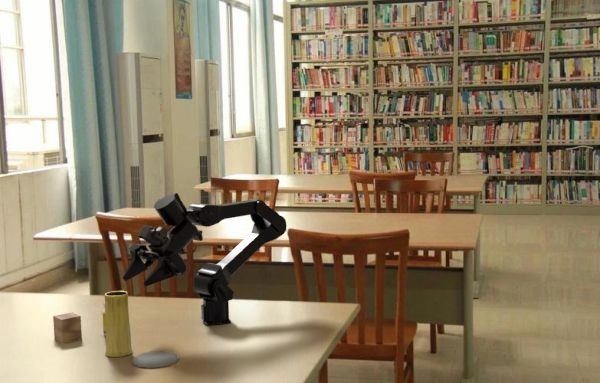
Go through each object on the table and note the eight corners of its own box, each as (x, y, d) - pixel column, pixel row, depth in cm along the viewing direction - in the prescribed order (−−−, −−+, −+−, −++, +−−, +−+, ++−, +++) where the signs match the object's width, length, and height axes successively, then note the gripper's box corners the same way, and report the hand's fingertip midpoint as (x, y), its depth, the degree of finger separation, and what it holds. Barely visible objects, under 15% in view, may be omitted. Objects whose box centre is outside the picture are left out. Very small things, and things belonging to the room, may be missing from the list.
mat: (173, 351, 175) (173, 349, 175) (181, 364, 165) (181, 361, 165) (129, 357, 171) (129, 354, 171) (135, 370, 162) (135, 367, 162)
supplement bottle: (117, 336, 187) (116, 304, 187) (100, 336, 188) (98, 303, 188) (125, 331, 192) (124, 299, 191) (108, 330, 193) (107, 299, 192)
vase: (137, 350, 176) (134, 291, 175) (123, 358, 170) (120, 297, 169) (115, 348, 178) (112, 289, 177) (100, 356, 172) (97, 295, 171)
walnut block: (73, 335, 190) (72, 312, 189) (81, 339, 186) (80, 315, 186) (54, 339, 187) (53, 315, 186) (62, 343, 183) (61, 319, 182)
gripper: (139, 212, 192) (96, 253, 184) (182, 218, 179) (137, 262, 170) (161, 244, 197) (120, 285, 189) (204, 252, 184) (162, 297, 176)
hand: (134, 282), depth 181 cm, fingers open, 9 cm apart
